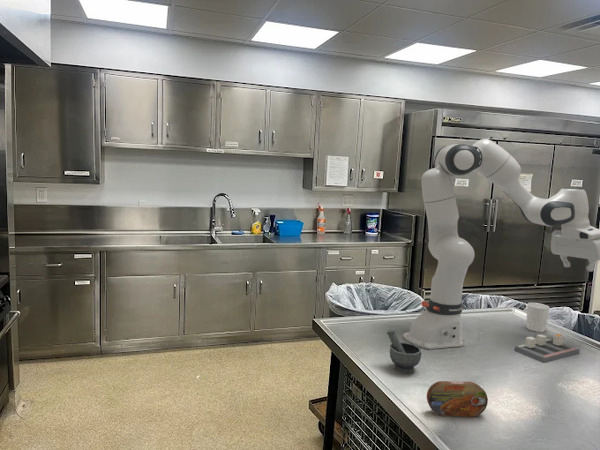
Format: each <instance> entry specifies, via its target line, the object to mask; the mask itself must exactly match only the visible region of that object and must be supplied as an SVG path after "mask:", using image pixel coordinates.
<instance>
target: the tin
mask: <svg viewBox="0 0 600 450" xmlns="http://www.w3.org/2000/svg"><path fill="white" fill-rule="evenodd" d="M426 400H427V404H428V405H429V408H430V409H431V411H432V412H433V413H434V414H436V415H437V416H440V417H459V418H460V417H461V418H463V417H465V418H468V417H469V418H474V417H477V416H479V415H481V414H482V413H484V411H485V410H486V409H487V406H488V402H489V398H488V395H487V392H486V391H485V390H484V388H483V387H481V386H480V385H478V383H476V382H473V381H460V380H459V381H456V380H455V381H453V380H451V381H450V380H440V381H436V382H434V383H432V384H431V385H430V386H429V388H428V390H427V393H426Z"/></svg>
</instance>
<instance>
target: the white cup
mask: <svg viewBox="0 0 600 450" xmlns="http://www.w3.org/2000/svg"><path fill="white" fill-rule="evenodd" d="M526 304H527V305H526V308H527V310H526V325H525V326H526V329H527V330H529V331H532V332H537V333H544V332H545V331H546V328H547V322H548V317H549V311H550V306H549V305H546V304H543V303H538V302H528V303H526Z"/></svg>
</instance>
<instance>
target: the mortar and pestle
mask: <svg viewBox="0 0 600 450" xmlns="http://www.w3.org/2000/svg"><path fill="white" fill-rule="evenodd" d="M386 334H387V336H388V337H389V340H390V346H389V356H390V360H391V361H392V363H393V364H394V366H393V368H394V371H396V372H397V373H398V374H399V373H400V374H404V375H410V374H412V373H415V367H416V366H417V365H418V364H419V363H420V362H421V359H422V347H419V346H417V345H415V344H413V343H410V342H401V341H400V339H399V337H398V335H397V333H396V329H394V328H393V329H392V328H391V329H389V330H387V332H386Z"/></svg>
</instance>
